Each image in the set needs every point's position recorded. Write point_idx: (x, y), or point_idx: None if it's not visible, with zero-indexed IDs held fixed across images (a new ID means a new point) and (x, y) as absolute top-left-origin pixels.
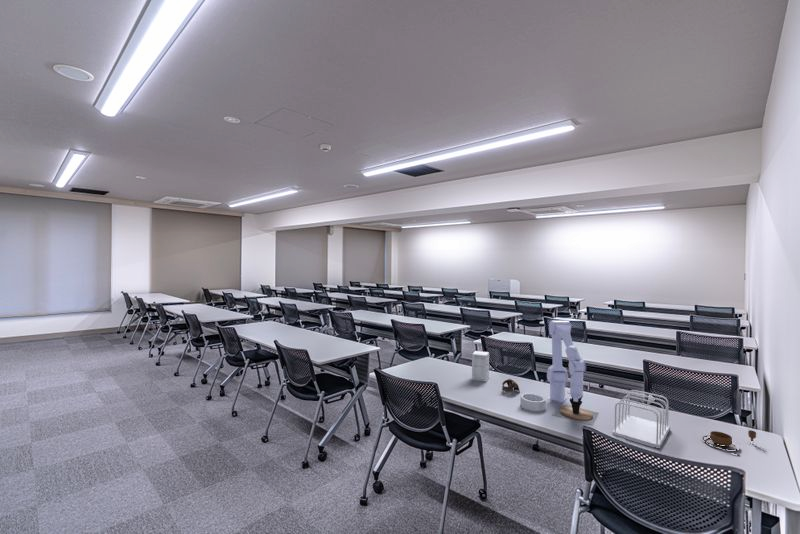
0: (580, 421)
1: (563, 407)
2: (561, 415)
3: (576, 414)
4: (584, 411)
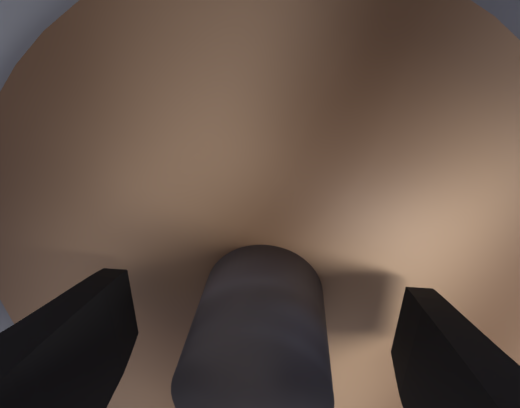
0: (2, 319)
1: (469, 44)
2: (10, 23)
3: (167, 299)
4: (377, 404)
